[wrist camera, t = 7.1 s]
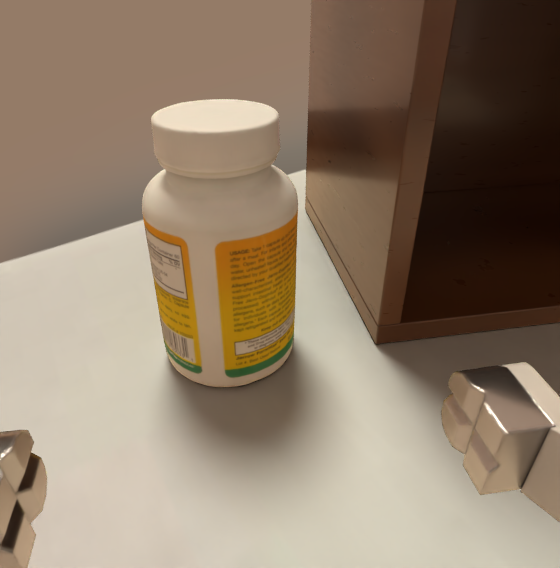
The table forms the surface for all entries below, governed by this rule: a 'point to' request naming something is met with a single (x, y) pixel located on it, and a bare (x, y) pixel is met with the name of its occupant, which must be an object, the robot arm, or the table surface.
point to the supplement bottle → (222, 240)
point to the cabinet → (438, 161)
